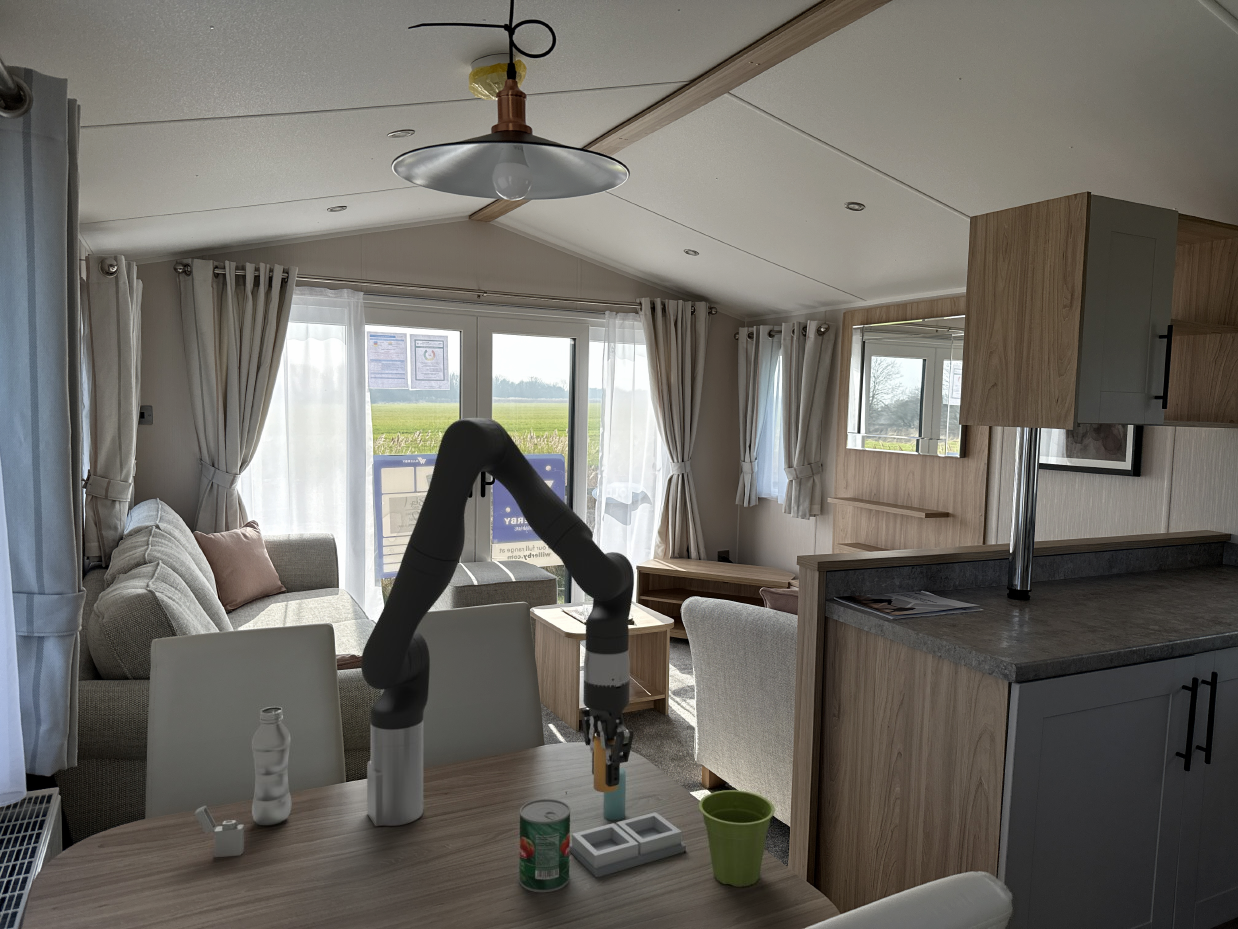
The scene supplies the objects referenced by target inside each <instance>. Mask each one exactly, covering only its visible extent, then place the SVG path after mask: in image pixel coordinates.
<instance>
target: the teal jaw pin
mask: <svg viewBox="0 0 1238 929" xmlns="http://www.w3.org/2000/svg"><path fill="white" fill-rule="evenodd" d="M619 777H620V780H619V784H618V789H617V790H615V791H613V792H603V805H602V806H603V808H602V809H603V811H602V812H603V813H602V814H603V815H602V816H603V817H604V819H606V820H608V821H622V820H623V819H624V818H625V817H626V793H627V792H626V791H627V790H626V788H627V787H626V785H627V784H626V783H627V780H626V779H627V772H626V770H625V769H623V768H621V767H620V776H619Z"/></svg>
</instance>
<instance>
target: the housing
mask: <svg viewBox="0 0 1238 929" xmlns="http://www.w3.org/2000/svg"><path fill="white" fill-rule="evenodd" d="M682 833H683V832H682V831H681V829H679V828H677V827H676V826H675V825H674V824H672V823H671V822H670V821H668V820H667V819H665V818H664V817H663V816H661V815H660V814H659V813H658V812H651V813H648V814H644V815H640V816H636V817H632V818H629V819H625V820H619V821H617V822H616V821H615V823H614V822H612V823H610V824H605V825H601V826H597V827H593V828H590V829H587V830H582V831H578V832H574V833H572V834H571V842H570V854H572V855H573V857H574V858H576V859H577V860H578V861H579V862H580V863H581V864H582V865H583V866H584V867H585V868H586V869H587V870H588V871H589V872H590V873H591V874H592V875H593V876H594V877H595V878H600V877H604V876H606V875H607V876H608V875H610V874H611V875H612V874H613V873H614V874H615V873H616V872H620V871H624V870H627V869H631V868H635V867H637V866H641V865H644V864H647V863H651V862H654V861H657V860H662V859H665V858H668V857H671V856H675V855H677V854H678V855H679V854H681V853H685V852H686V851H687V845H686V844H685V843H684V842H682ZM684 851H685V852H684Z"/></svg>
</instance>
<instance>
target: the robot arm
mask: <svg viewBox="0 0 1238 929" xmlns="http://www.w3.org/2000/svg"><path fill="white" fill-rule="evenodd" d="M436 454H437V455H436V459H435V464H434V466H433V472H432V474H431V478H430V479H431V480H430V481H429V485H428V486H429V487H428V489H427V493H426V496H425V498H424V500H423V503H422V506H421V508H420V511H419V514H418V516H417V519H416V522H415V524H414V528H413V530H412V532H411V535H410V537H409V540H408V542H407V545H406V547H405V548H406V549H405V550H404V554H403V556H402V559H401V562H400V566H399V568H398V571H397V573H396V576H395V578H394V581H393V584H392V587H391V588H390V591H389V593H388V597H387V600H386V602H385V605H384V607H383V608H382V611H381V613H380V616H379V617H378V619H377V620H376V623H375V625H374V628H373V629H372V631H371V633H370V635H369V637H368V639H367V641H366V643H365V645H364V648H363V649H362V650H363V651H362V655H361V660H360V661H361V662H360V666H361V667H360V669H361V675H362V677H363V679H364V681H365V683H366V684H367V685H368V686H369V687H371V688H373V689H374V690H381V691H382V690H383V692H382V693H381V694H380V697H379V698H378V699H376V701H375V702H374V704H373V705H372V707H371V708H370V720H369V721H370V759H369V761H367V764H366V765H367V769H366V770H367V772H366V774H367V775H366V776H367V777H366V780H367V781H366V782H367V785H366V787H367V790H366V791H367V792H366V793H367V794H366V795H367V796H366V798H367V799H366V800H367V801H366V802H367V803H366V806H367V807H366V811H367V812H366V813H367V815H368V817H369V819H370V820H371V822H372V823H373V825H374V826H375V827H380V826H387V827H388V826H389V827H390V826H391V827H392V826H396V827H397V826H402V825H407V824H409V823H412V822H414V821H417V820H418V819H419V818H420V817H421V816H422V815H423V813H424V712H425V709H426V706H427V703H428V699H429V690H430V689H429V686H430V685H429V684H430V670H431V669H430V668H431V667H430V666H431V664H430V660H431V657H430V652H429V651H430V650H429V646H428V643H427V641H426V639H425V638H424V636H423V635H422V634H421V633H420V632H418V631H417V628H418V626H419V625H420V623H421V622H422V621H423V619H424V617H425V616H426V615H427V613H428V612H429V611H430V610H431V608H432V607H434V605H435V603H436V602H438V600H439V598H440V597H441V596H442V595H443V593H444V592H445V590H446V589H447V588H448V586H449V584H450V583H451V581H452V579H453V576H454V574H455V572H456V570H457V567H458V564H459V562H460V559H461V556H462V553H463V550H464V546H465V538H466V537H465V536H466V535H465V534H466V532H465V531H466V530H465V529H466V527H465V526H466V524H465V514H466V513H465V512H466V508H467V507H466V506H467V502H468V500H469V496H470V495H471V492H472V490H473V488H474V486H475V483H476V481H477V479H478V477H479V475H480V473H482V472H485V473H486V474H488V475H489V476H491V477H492V478H494V479H495V480H496V481H498V482H499V484H501V485H502V486H503V487H504V488H505V489H506V490H507V492H509V494H510V495H511V496H512V498H513V499H514V501H515V503H516V504H517V506H518V508H519V509H520V512H521V514H522V516H523V518H524V519H525V521H526V523H527V524H528V526H529V527H530V529H531V530H532V531H533V533H534V534H536V535H537V537H538V538H539V539H540V540H541V541H542V542H543V543H544V544H545V545H546V546H547V547H548V548H549V549H550V550H551V551H552V552H553V553H554V554H555V555H556V556H557V557H558V558H559V559H560V560H561V562H562V564H563V565H564V568H565V569H566V570H567V572H568V573H569V575H570V576H571V577H572V579H573V581H574V582H575V583H576V585H577V586H578V587H579V588H580V589H581V591H582V592H584V594H586V595H587V596H589V597H590V598H591V599H593V600H592V608H591V611H590V613H589V615H588V616H587V618H586V622H585V623H586V624H585V652H584V660H583V700H582V701H583V702H582V703H583V705H584V706H585V708H581V709H580V716H581V717H580V718H581V724H582V731H583V737H584V738H583V739H584V744H585V746H589V751H590V753H591V758H592V759H591V766H592V767H591V774H592V776H594V738H595V737H596V736H598V737H601V745H602V749H604V750H605V756H606V782H605V783H606V785H607V786H608V787H612V786H616V785H618V784H619V780H620V777H619V776H620V768H621V767H620V766H621V765H620V764H623V763H628V762H629V757H630V753H631V749H632V744H633V740H634V731H633V729H631V728H630V729H627V728H626V727H625V723H624V722H625V721H624V717H623V716H624V715H623V711H624V710H625V709H626V708H627V707H628V706H629V705H630V691H631V690H630V688H631V685H630V682H631V680H630V678H631V676H630V675H631V674H630V672H631V669H630V668H631V666H630V665H631V662H630V652H629V642H630V640H629V638H630V637H629V636H630V635H629V633H630V632H629V630H630V629H629V619H630V613H631V610H632V608H631V607H632V601H633V597H634V596H633V595H634V589H635V588H634V586H635V574H634V573H635V572H634V569H633V566H632V563H631V562H630V560H629V559H628V557H627V556H625V555H624V554H622V553H619V552H616V551H614V552H613V551H612V552H611V551H610V552H607V553H605V552H603V550H602V549H601V548H600V547H599V546H598V545H597V543H596V542H595V541H594V539H593V535H594V534H593V531H592V529H591V528H590V527H589V526H588V525H587V524H586V523H585V521H583V520H582V518H581V517H580V516H579V515H578V514H577V513H576V512H575V511H574V510H573V509H572V508H571V507H570V506H569V505H568V504H567V503H566V502H565V501H564V500H563V499H562V498H561V497H560V496H559V495H558V494H557V493H556V492H555V491H554V490H553V489H552V488H551V487H550V486H549V485H548V483H547V482H546V481H545V480H544V479H543V478H542V476H540V474H539V473H538V472H537V470H536V469H535V468H534V467H533V465H532V464H531V463H530V462H529V460H528V458H527V457H526V456H525V455H524V454H523V452H522V451H521V449H520V448H519V447H518V446H517V443H516V442H515V441H514V439H513V438H512V437H511V435H510V434H509V433H508V431H507V430H506V429H505V427H503V426H502V424H500V423H499V422H498V421H496V420H495V419H492V418H489V417H469V418H467V417H466V418H460V419H457V420H455V421H454V422H452V423H451V424H450V425H449V426H448V427H447V428H446V430H445V431H444V434H443V435H442V437H441V441H440V443H439V446H438V451H437V453H436ZM611 740H615V743H610V744H608V742H607V741H611ZM613 748H614V749H613ZM611 749H613V754H612V756H611Z"/></svg>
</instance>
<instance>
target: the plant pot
mask: <svg viewBox="0 0 1238 929" xmlns="http://www.w3.org/2000/svg"><path fill="white" fill-rule="evenodd" d="M698 808H699V811H700V812H701V814H702V817H703V822H704V825H705V828H706V833H707V834H706V835H707V841H708V848H709V854H710V860H711V868H712V873H713V876H714V878H715V879H716V880H717V881H718V882H720V883H721V884H723V885H732V886H733V887H737V888H743V886H744V887H748V886H749V887H750V886H751V884H752V885H753V884H755V883H756V882H758V879H759V878H760V874H761V869H762V863H763V862H762V861H763V856H764V851H765V845H766V838H767V833H768V830H769V828H770V822H771V818H773V816H774V814H775V810H776V809H775V805H774V804H773V802H771V800H769V799H768V798H766V797H765V796H762V795H760V794H757V793H755V792H750V791H747V790H746V791H745V790H738V789H737V790H734V789H732V790H731V789H729V790H721V791H715V792H712V793H709V794H707V795H705V796H703V797H702V798H701V799H700V801H699V803H698Z"/></svg>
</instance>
